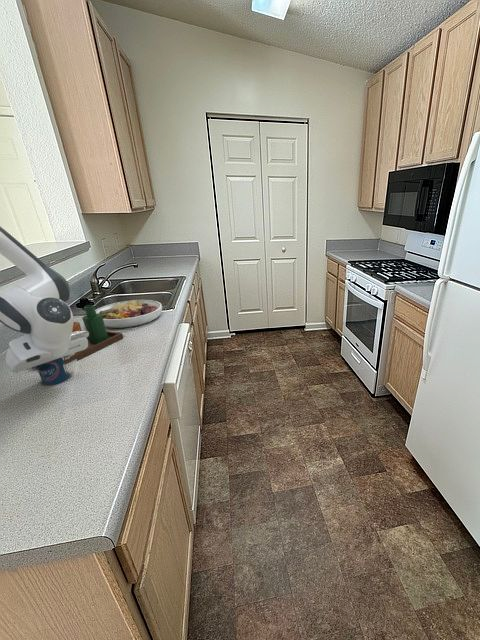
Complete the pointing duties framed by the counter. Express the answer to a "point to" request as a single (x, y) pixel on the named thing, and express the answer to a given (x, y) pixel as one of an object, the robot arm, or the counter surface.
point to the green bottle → (94, 325)
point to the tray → (95, 346)
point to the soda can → (53, 371)
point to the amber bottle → (77, 328)
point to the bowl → (129, 313)
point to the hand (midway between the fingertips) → (49, 363)
